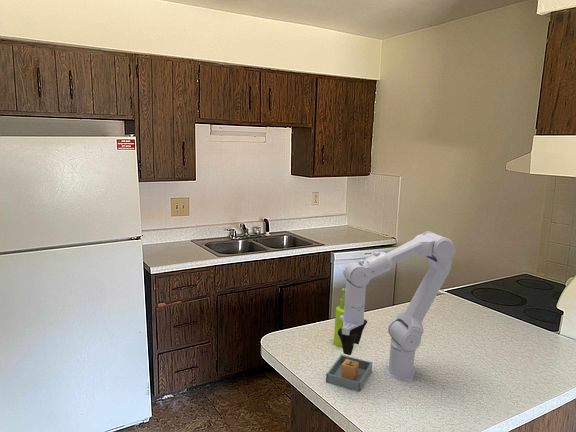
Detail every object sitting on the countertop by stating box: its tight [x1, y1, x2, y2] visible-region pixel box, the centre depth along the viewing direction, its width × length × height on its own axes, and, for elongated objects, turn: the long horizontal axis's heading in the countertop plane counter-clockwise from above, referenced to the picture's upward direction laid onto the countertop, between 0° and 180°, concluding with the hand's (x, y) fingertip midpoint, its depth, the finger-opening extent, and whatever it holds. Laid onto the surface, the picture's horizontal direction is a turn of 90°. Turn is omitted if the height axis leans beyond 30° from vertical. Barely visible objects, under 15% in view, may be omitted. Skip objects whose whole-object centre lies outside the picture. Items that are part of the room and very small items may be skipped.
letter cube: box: [341, 359, 359, 380], centre depth 127 cm, size 4×4×4 cm
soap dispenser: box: [333, 287, 346, 348], centre depth 146 cm, size 6×7×20 cm
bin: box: [325, 354, 373, 392], centre depth 127 cm, size 13×10×3 cm
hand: (351, 348), depth 126 cm, fingers open, 7 cm apart
